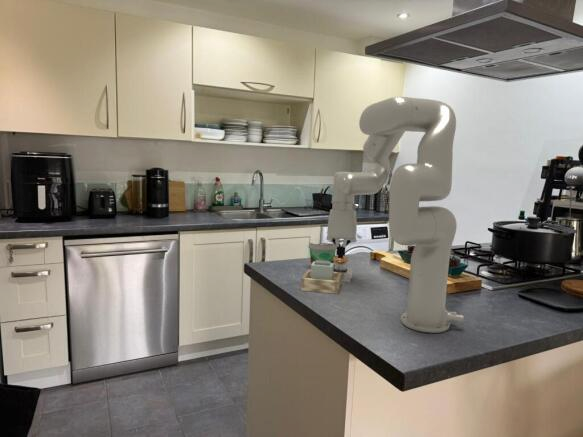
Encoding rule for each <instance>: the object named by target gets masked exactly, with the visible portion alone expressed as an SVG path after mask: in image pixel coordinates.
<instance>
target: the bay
mask: <svg viewBox="0 0 583 437" xmlns="http://www.w3.org/2000/svg"><path fill="white" fill-rule="evenodd" d="M300 282H301V285H300V286H301V287H300V290H301V291H304V292H305V291H306V292H313V293H314V292H315V293H323V294H324V293H325V294H333V295H334V294H336V295H338V294H339V292H340V288H341V285H342V282H341V273H340V272H333V280H322V279H311V269H306V271H305V272H304V274H303V276H302V277H301V281H300Z"/></svg>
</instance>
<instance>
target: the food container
mask: <svg viewBox="0 0 583 437" xmlns="http://www.w3.org/2000/svg"><path fill="white" fill-rule="evenodd" d="M307 247H308V249H309V258H310V261H309V262H310V266H311V265H312V263H313V261H314V262H315V261H316V260H320V261H331V263H334V264H335V261H333V256H336V251H337V247H336V245H335V244H334V243H333V242H332V243H326V242H321V243H312V242H309V243H308V246H307Z"/></svg>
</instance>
